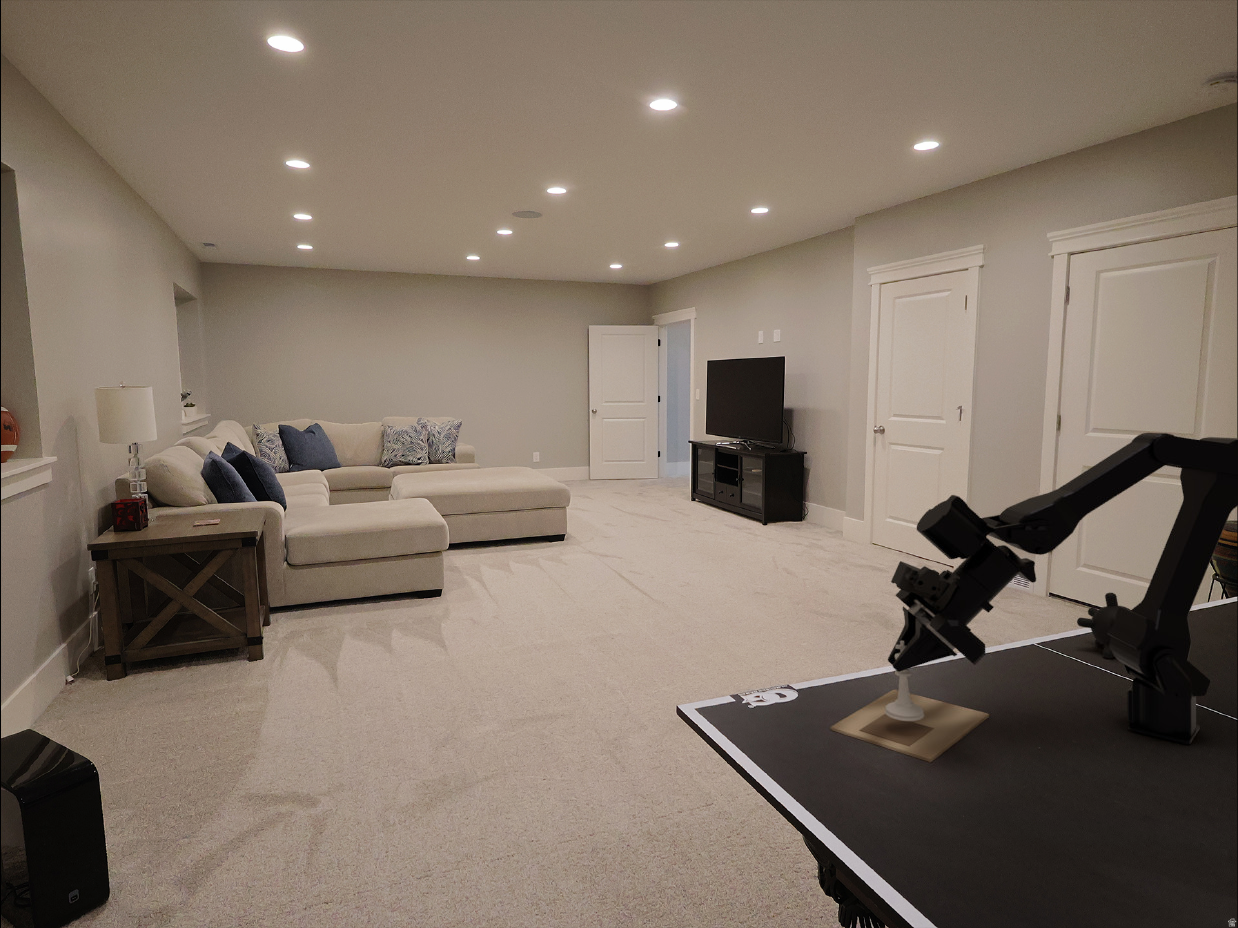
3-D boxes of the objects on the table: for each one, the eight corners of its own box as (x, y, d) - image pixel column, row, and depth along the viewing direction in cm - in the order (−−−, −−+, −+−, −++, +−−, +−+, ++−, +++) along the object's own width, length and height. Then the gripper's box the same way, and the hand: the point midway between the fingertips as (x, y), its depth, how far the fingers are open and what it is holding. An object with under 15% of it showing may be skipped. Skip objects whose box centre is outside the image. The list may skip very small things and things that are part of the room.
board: (988, 716, 101) (988, 713, 101) (930, 762, 89) (930, 758, 89) (894, 691, 111) (894, 688, 111) (830, 729, 99) (830, 726, 99)
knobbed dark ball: (1106, 651, 116) (1052, 613, 127) (1136, 686, 119) (1081, 646, 130) (1157, 606, 114) (1098, 572, 126) (1186, 642, 118) (1126, 606, 129)
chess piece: (919, 724, 94) (916, 648, 93) (880, 716, 97) (878, 643, 96) (928, 710, 98) (925, 638, 97) (890, 704, 101) (888, 633, 100)
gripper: (908, 530, 105) (833, 607, 106) (955, 555, 86) (864, 648, 88) (966, 581, 104) (890, 658, 106) (1026, 617, 86) (933, 709, 88)
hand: (892, 665), depth 97 cm, fingers closed on chess piece
